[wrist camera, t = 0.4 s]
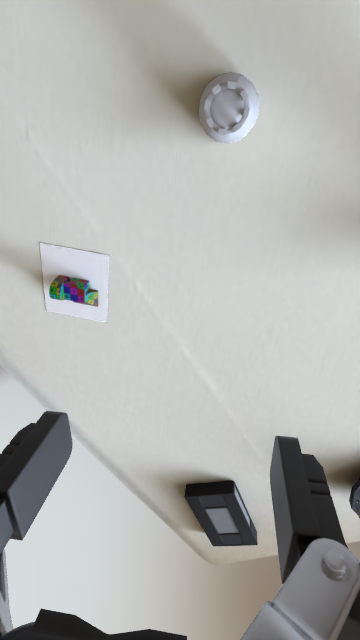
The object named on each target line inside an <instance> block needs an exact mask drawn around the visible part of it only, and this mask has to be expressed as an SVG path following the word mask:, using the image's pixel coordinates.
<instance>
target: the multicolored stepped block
mask: <svg viewBox="0 0 360 640" xmlns="http://www.w3.org/2000/svg"><path fill="white" fill-rule="evenodd" d="M40 252H41V263H42V273H43V283H44V293H45V304H46V311H49V312H54V313H60V314H65V315H70V316H75V317H81V318H86V319H91V320H96V321H102V322H107V312H108V260H109V255H104V254H99V253H93V252H88V251H82V250H77V249H71V248H66V247H60V246H55V245H49V244H44V243H40Z"/></svg>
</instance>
